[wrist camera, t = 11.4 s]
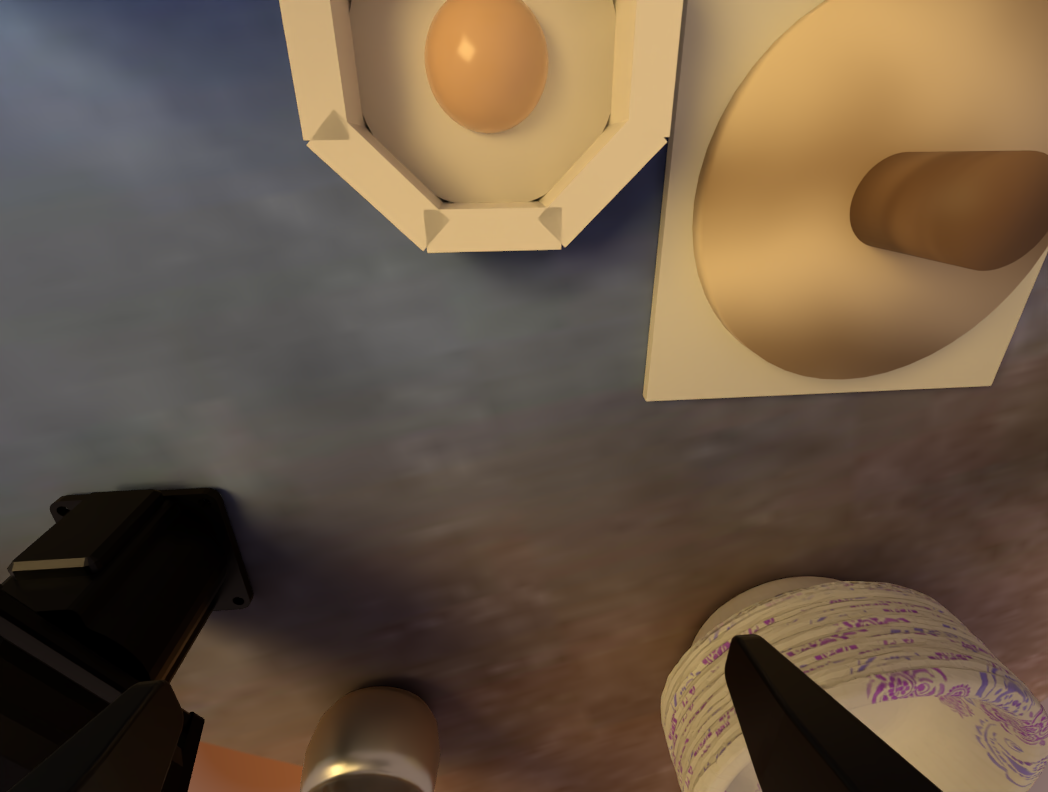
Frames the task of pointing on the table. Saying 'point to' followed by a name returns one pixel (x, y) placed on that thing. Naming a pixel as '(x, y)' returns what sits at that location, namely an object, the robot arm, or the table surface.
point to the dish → (485, 109)
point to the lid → (877, 182)
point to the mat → (678, 298)
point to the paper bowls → (861, 686)
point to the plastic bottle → (373, 745)
